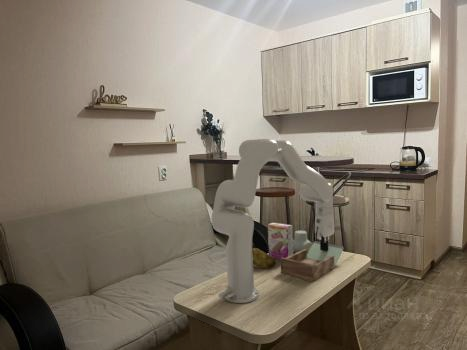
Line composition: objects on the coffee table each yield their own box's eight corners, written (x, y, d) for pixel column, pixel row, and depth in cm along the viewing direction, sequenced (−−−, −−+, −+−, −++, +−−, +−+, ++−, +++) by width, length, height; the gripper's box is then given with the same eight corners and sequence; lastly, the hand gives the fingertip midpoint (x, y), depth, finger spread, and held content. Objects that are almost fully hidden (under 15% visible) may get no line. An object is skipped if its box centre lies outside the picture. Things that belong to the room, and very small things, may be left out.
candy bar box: (268, 257, 165) (266, 224, 163) (274, 254, 169) (272, 222, 167) (288, 262, 158) (287, 227, 156) (294, 259, 162) (292, 224, 160)
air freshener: (301, 256, 165) (300, 235, 164) (287, 252, 171) (287, 233, 170) (314, 250, 172) (313, 230, 171) (300, 247, 178) (300, 228, 177)
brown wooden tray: (311, 281, 135) (311, 265, 135) (280, 272, 146) (280, 257, 145) (334, 268, 148) (334, 253, 147) (304, 260, 159) (304, 247, 158)
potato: (267, 272, 147) (266, 254, 146) (243, 266, 155) (242, 249, 154) (277, 266, 153) (277, 249, 152) (254, 261, 161) (253, 244, 161)
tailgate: (334, 264, 148) (343, 246, 153) (305, 257, 159) (314, 241, 164) (335, 266, 149) (343, 248, 154) (306, 259, 159) (315, 242, 164)
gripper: (322, 214, 147) (323, 256, 148) (339, 208, 157) (340, 248, 159) (307, 211, 152) (308, 252, 154) (325, 207, 163) (325, 245, 164)
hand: (324, 250), depth 156 cm, fingers closed
